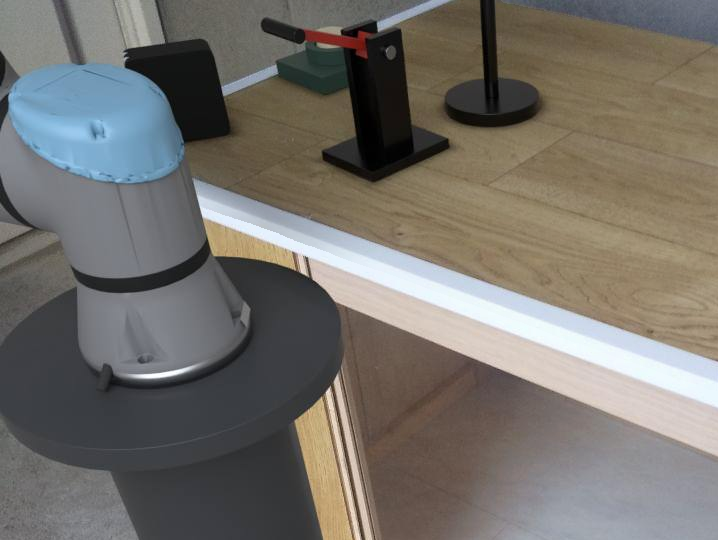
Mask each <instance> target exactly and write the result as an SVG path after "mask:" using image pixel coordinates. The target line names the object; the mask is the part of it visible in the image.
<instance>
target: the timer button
mask: <svg viewBox="0 0 718 540" xmlns="http://www.w3.org/2000/svg"><path fill="white" fill-rule="evenodd" d="M343 28H344V27H340V26H333V25H332V26H331V25H330V26H324V27H323V26H322V27H320V28H318V29H315V31H321V32H326V33H332V34H337V35H341V29H343ZM316 44H317V47H320V48H337V47H340V46H334V45H328V44H323V43H317V42H316Z"/></svg>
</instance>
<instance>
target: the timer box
mask: <svg viewBox="0 0 718 540" xmlns="http://www.w3.org/2000/svg"><path fill="white" fill-rule="evenodd" d="M304 47H305V48H304V49H305V50H302V51H299V52H295V53H293V54H290V55H288V56H285V57H281V58H278V59H276V60H275V65H276V70H277V75H278V78H280V79H282V80H285V81H288V82H290V83H293V84H296V85H298V86H301V87H304V88H306V89H309V90H311V91H313V92H316V93H319V94H322V95H324V96H327V95H329V94H331V93H334V92H337V91H339V90H343V89H345V88H348V87H349V84H348V78H347V71H346V64H345V57H344V51H343V47H337V48H320V47H317V44H316V42H311V41H305V42H304Z"/></svg>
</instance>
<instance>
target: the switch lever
mask: <svg viewBox="0 0 718 540" xmlns="http://www.w3.org/2000/svg"><path fill="white" fill-rule="evenodd" d="M260 28H261V31H263V33H265V34H268V35H271V36H273V37H277V38H279V39H283V40H285V41H287V42H291V43H294V44H297V45H302V44H304V43H305V42H307V41H311V42H317V43H323V44H328V45H334V46H340V47H346V48H352V49H356V55H358V56H361V57H364V58H367V51H366V44H365V37H368V36H371V35H373V33H368V32H363V31H358V38H354V37H348V36H343V35H337V34H332V33H326V32H321V31H316V29H309V28H306V27H305V28H304V27H299V26H295V25H292V24H289V23H286V22H283V21H280V20H277V19H274V18H271V17H268V16H266V17H263V18H262V19H261V20H260Z"/></svg>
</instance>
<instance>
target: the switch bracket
mask: <svg viewBox="0 0 718 540" xmlns="http://www.w3.org/2000/svg"><path fill="white" fill-rule="evenodd" d="M342 28H343V29H341V35H343V36H348V37H354V38H358V31H363V32H368V33H373V35H371V36H368V37H365V44H366V51H367V58H364V57H361V56H358V55H356V49H352V48H346V47H343V51H344V57H345V64H346V71H347V78H348V84H349V86H348V91H349V97H350V98H349V99H350V105H351V111H352V117H353V124H354V125H353V126H354V130H355V131H354V132H355V136H353V137H351V138H349V139H346V140H344V141H341V142H339V143H337V144H335V145H332V146H329V147H327V148H325V149H323V150H321V156H322V161H323V162H325V163H328V164H330V165H333V166H334V167H337V168H339V169H341V170H344V171H346V172H348V173H351V174H353V175H355V176H358V177H360V178H363V179H364V180H367V181H369V182H372V183H376V182H378V181H381V180H382V179H384V178H387V177H389V176H392V175H394V174H395V173H398V172H400V171H403V170H404V169H407V168H409V167H411V166H414V165H415V164H418V163H420V162H422V161H424V160H426V159H428V158H431V157H433V156H435V155H438V154H439V153H441V152H444V151H446V150H448V149H450V138H449V137H446V136H444V135H441V134H439V133H438V134H437V133H435V132H433V131H430V130H428V129H426V128H423V127H419V126H417V125H414V124H412V117H411V107H410V97H409V89H408V88H409V87H408V79H407V70H406V61H405V51H404V42H403V34H402V33H403V32H402V28H401V27H397V26H394V27H391V28H388V29H384V30H383V31H380V32H379V27H378V21H377V20H375V19H372V18H369V19H367V20H364V21H361V22H357V23H355V24H353V25H350V26H349V25H348V26H347V27H342Z"/></svg>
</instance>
